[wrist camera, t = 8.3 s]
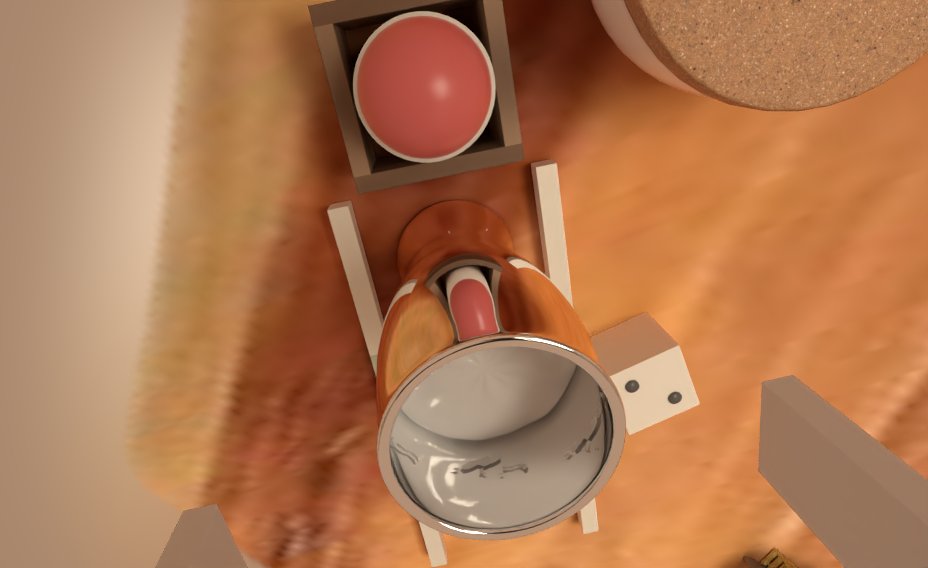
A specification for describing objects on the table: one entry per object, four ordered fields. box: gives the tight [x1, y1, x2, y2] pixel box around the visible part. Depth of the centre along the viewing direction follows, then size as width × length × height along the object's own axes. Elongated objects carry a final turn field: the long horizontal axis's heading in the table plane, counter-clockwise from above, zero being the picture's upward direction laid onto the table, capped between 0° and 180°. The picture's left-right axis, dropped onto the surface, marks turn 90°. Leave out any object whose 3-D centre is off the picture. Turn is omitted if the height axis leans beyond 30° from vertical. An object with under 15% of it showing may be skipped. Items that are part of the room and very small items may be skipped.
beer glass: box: [376, 200, 626, 540], centre depth 21 cm, size 7×7×15 cm
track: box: [327, 159, 599, 567], centre depth 30 cm, size 24×11×1 cm, turn 10°
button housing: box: [308, 0, 524, 194], centre depth 22 cm, size 7×7×4 cm
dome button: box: [353, 11, 496, 163], centre depth 20 cm, size 5×5×7 cm
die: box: [590, 312, 700, 435], centre depth 29 cm, size 4×4×4 cm
